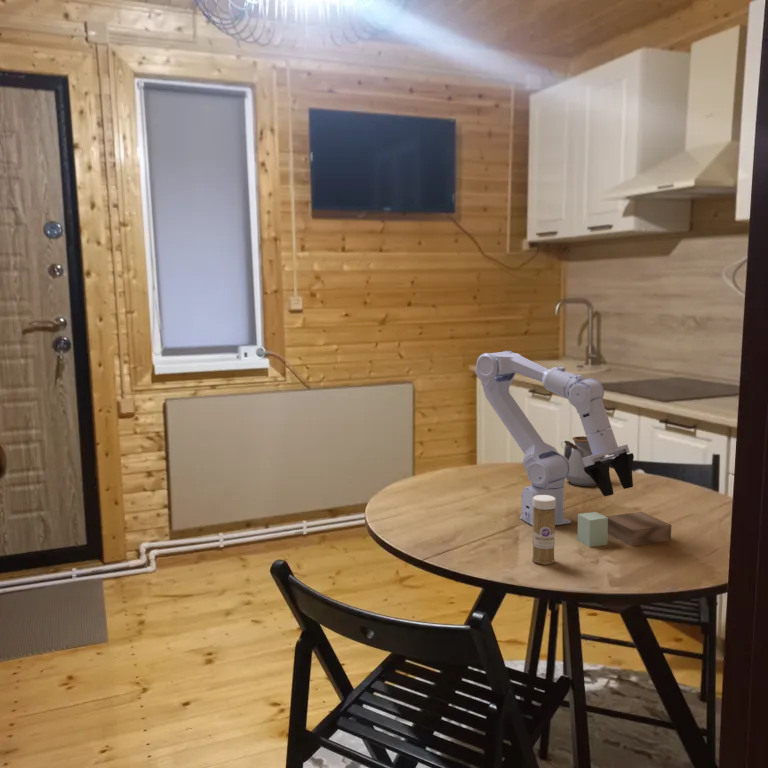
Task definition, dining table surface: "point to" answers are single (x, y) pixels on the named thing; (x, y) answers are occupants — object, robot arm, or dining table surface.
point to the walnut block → (638, 528)
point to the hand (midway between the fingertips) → (618, 491)
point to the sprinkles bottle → (543, 529)
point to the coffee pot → (579, 462)
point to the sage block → (592, 529)
